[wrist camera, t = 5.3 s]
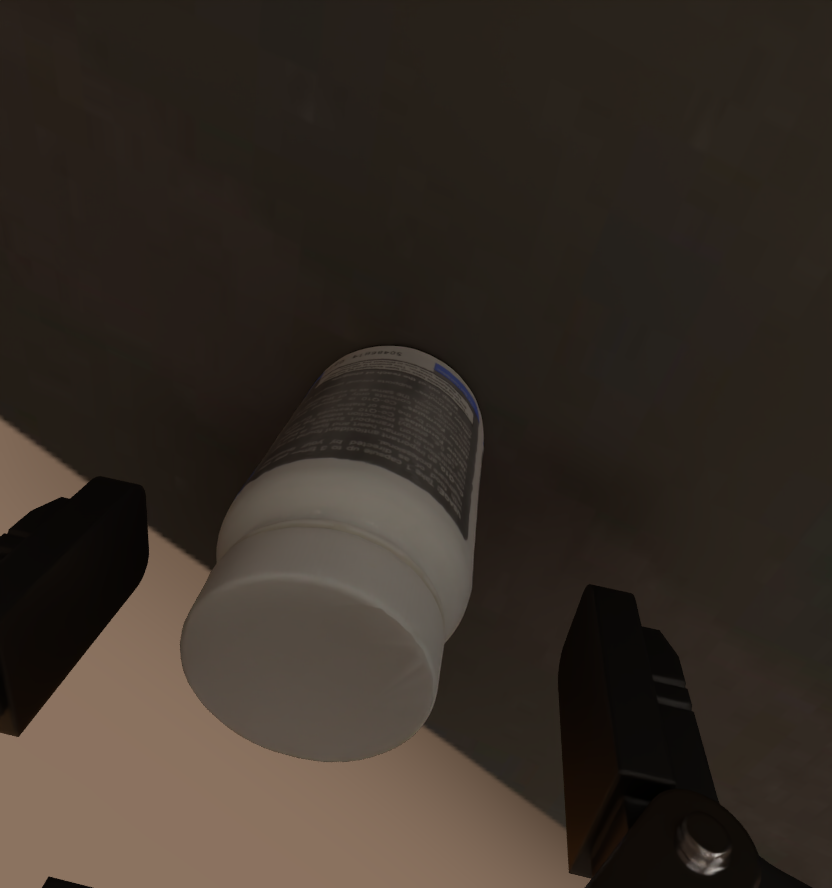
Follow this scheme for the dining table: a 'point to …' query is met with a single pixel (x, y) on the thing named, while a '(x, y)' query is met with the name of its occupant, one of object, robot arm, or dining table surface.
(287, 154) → the dining table surface
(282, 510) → the pill bottle
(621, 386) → the dining table surface
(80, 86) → the dining table surface
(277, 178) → the dining table surface
